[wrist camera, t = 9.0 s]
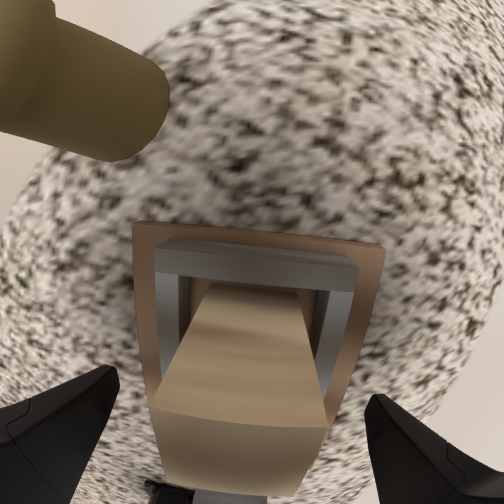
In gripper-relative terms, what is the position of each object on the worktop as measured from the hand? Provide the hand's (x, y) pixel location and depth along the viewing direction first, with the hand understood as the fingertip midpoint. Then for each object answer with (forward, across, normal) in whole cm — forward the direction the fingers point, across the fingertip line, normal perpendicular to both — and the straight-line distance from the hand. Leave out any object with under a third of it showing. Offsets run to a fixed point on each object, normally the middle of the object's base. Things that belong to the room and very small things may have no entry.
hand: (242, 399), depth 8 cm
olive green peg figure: (+6, +8, -10) cm, 15 cm away
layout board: (+6, 0, +5) cm, 8 cm away
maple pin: (+5, 0, 0) cm, 5 cm away
